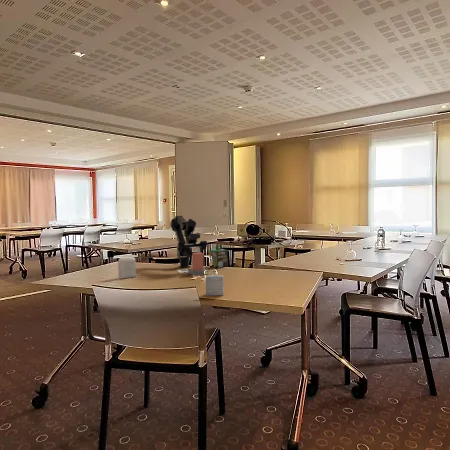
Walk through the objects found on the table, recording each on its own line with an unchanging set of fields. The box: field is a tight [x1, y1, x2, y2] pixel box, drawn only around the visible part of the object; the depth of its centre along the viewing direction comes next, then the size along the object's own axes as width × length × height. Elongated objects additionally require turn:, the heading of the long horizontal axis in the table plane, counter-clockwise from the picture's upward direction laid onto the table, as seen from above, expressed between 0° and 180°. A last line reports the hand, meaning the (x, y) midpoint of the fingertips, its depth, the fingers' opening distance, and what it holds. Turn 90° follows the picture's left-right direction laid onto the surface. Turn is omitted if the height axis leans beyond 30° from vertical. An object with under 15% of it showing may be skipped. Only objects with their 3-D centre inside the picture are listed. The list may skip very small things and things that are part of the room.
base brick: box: [187, 267, 206, 277], centre depth 233 cm, size 10×10×2 cm
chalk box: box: [208, 244, 229, 269], centre depth 258 cm, size 9×9×15 cm
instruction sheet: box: [176, 269, 188, 274], centre depth 244 cm, size 10×14×1 cm
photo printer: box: [117, 256, 137, 280], centre depth 226 cm, size 10×4×12 cm, turn 123°
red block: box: [191, 252, 205, 271], centre depth 232 cm, size 4×6×10 cm
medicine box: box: [205, 274, 225, 297], centre depth 176 cm, size 8×4×9 cm, turn 86°
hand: (195, 256), depth 237 cm, fingers open, 9 cm apart
